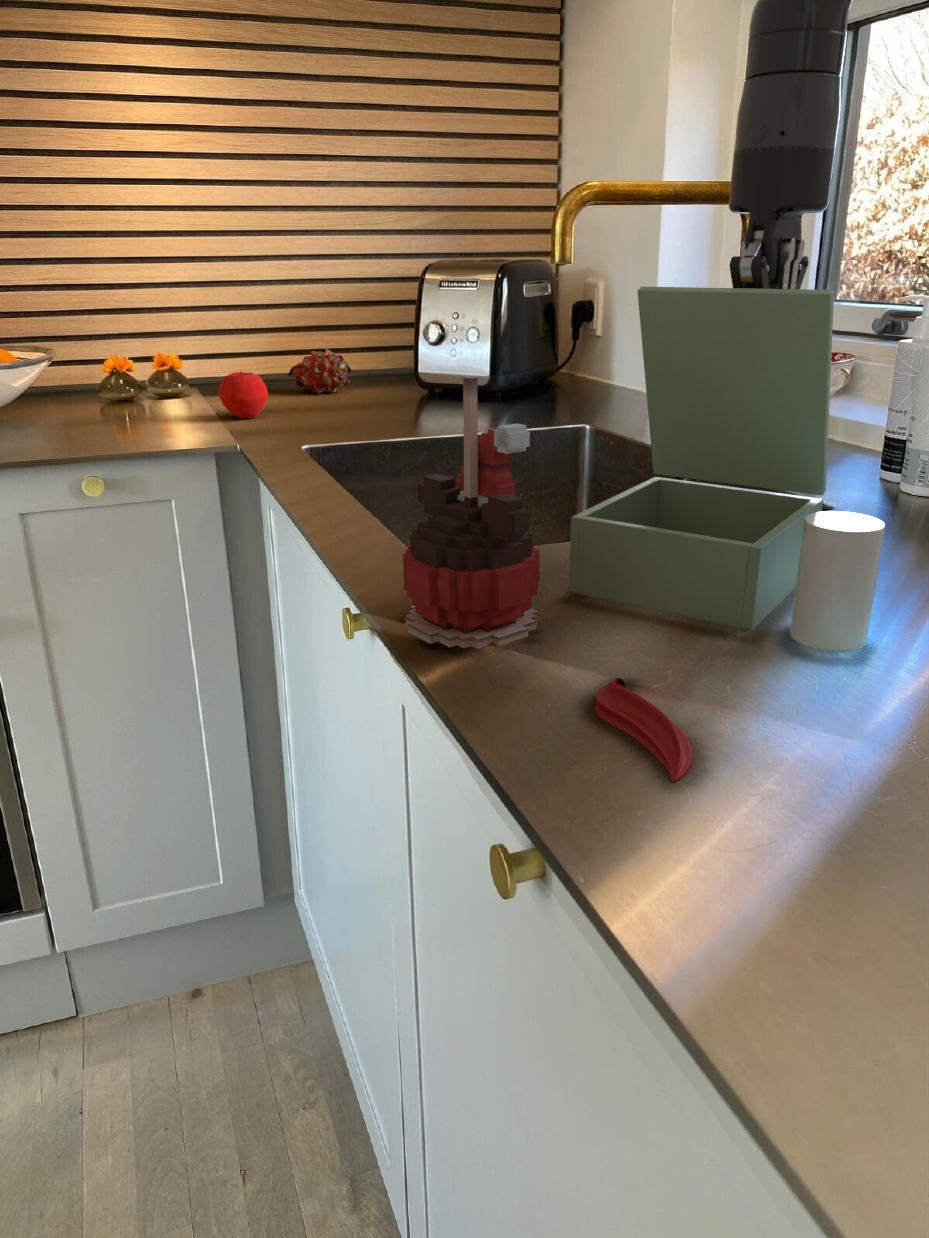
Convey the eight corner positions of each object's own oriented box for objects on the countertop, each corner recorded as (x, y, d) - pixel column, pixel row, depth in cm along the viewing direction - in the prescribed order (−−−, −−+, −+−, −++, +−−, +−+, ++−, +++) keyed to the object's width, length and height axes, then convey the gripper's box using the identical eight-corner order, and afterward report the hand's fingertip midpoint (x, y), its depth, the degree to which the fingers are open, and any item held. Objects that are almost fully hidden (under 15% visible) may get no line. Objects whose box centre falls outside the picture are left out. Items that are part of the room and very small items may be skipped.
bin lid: (831, 294, 65) (850, 267, 68) (637, 290, 73) (662, 266, 76) (823, 496, 75) (840, 465, 78) (653, 473, 83) (674, 446, 86)
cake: (377, 624, 70) (366, 375, 63) (476, 596, 75) (475, 364, 68) (466, 672, 62) (463, 393, 55) (569, 637, 67) (578, 379, 60)
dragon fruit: (357, 401, 178) (295, 411, 179) (357, 370, 183) (297, 379, 184) (345, 368, 171) (281, 378, 172) (345, 336, 175) (283, 346, 177)
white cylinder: (872, 642, 66) (893, 517, 62) (855, 667, 62) (875, 536, 58) (800, 627, 68) (816, 507, 65) (778, 650, 64) (794, 524, 61)
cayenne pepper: (588, 682, 60) (589, 654, 59) (660, 682, 60) (663, 654, 59) (612, 782, 49) (614, 749, 48) (701, 782, 49) (704, 750, 48)
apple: (212, 417, 154) (206, 371, 151) (256, 411, 159) (251, 366, 156) (233, 423, 148) (228, 375, 146) (278, 417, 153) (274, 371, 150)
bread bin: (750, 640, 66) (761, 548, 64) (567, 600, 74) (570, 516, 71) (812, 578, 78) (823, 498, 76) (649, 549, 86) (654, 476, 83)
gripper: (809, 135, 66) (778, 387, 72) (855, 151, 76) (825, 371, 82) (706, 141, 70) (685, 380, 76) (763, 155, 80) (741, 365, 86)
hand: (758, 375), depth 79 cm, fingers closed
